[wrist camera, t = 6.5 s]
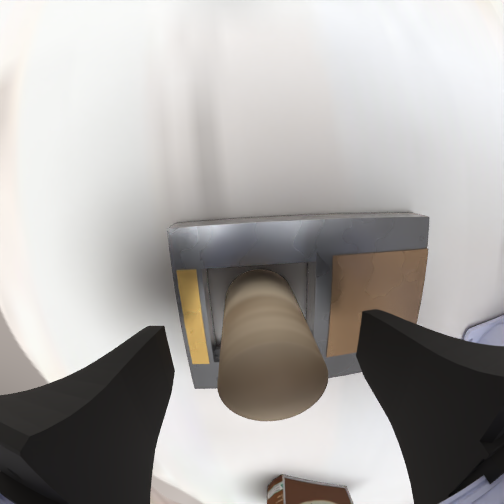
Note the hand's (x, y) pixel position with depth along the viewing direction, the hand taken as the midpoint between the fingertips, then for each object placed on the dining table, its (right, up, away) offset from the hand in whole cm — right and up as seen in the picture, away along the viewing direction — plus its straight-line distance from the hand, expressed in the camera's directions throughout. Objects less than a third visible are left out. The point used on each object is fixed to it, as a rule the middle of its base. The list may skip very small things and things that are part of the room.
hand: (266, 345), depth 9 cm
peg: (0, +1, +4) cm, 4 cm away
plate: (+2, +1, +4) cm, 4 cm away
